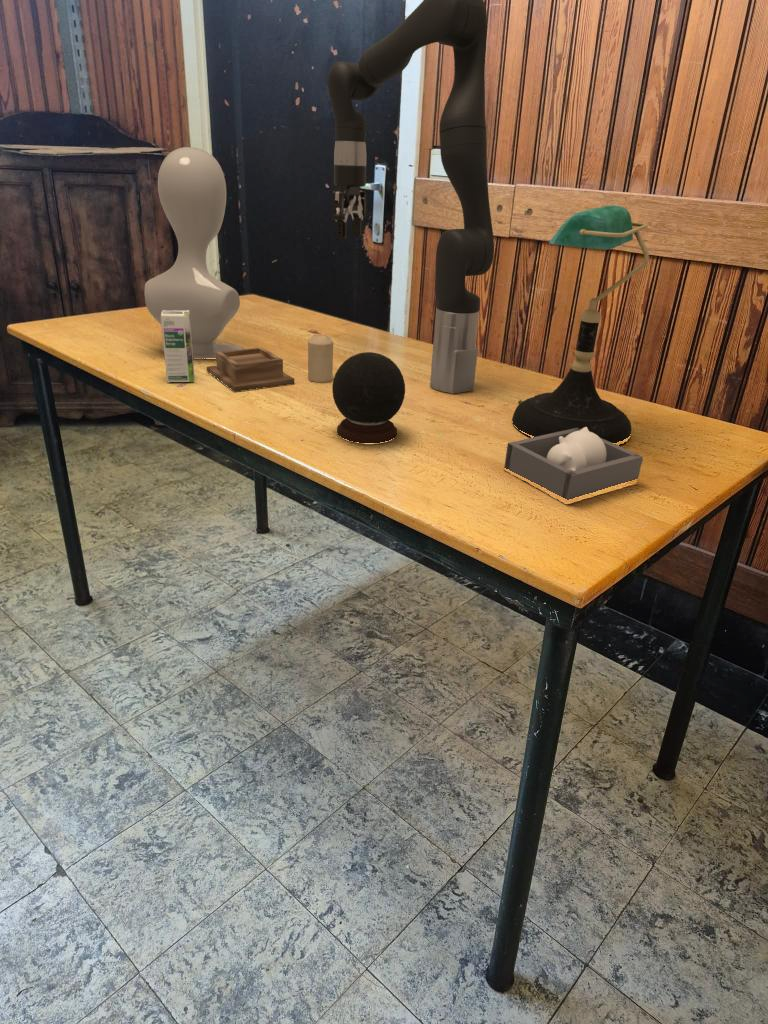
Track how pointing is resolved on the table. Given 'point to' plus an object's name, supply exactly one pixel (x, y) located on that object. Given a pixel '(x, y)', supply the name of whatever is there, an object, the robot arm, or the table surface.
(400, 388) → the black crystal ball
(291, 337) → the table surface
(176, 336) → the syrup box
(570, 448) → the cat figurine
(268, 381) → the display pedestal
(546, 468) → the figurine tray
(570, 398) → the banker's lamp
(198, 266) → the mannequin bust
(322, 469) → the table surface
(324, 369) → the candle
